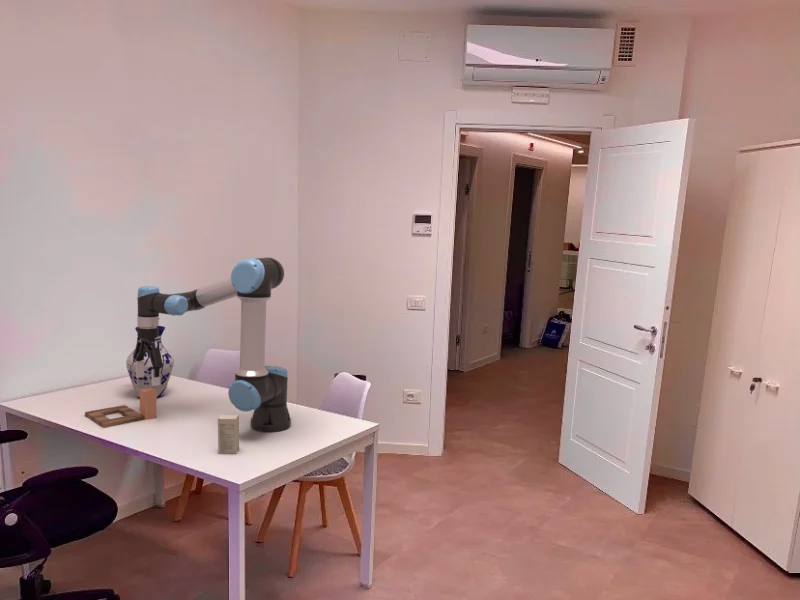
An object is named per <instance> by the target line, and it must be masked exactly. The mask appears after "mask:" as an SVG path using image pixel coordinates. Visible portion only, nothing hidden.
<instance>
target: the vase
mask: <svg viewBox="0 0 800 600" xmlns="http://www.w3.org/2000/svg"><path fill="white" fill-rule="evenodd" d="M157 327H158V328H159V336H158V337H157V338H155V342H159V348H160V353H161V358H162V363H163V368H160V385H155V386H152V369H151V368H152V367H153V366H152V363H151V360H150V357H149V354H148V353H147V352H146V354H145V356H144V359H145V360H142V361H144V377H141V378H136V360H135V358H134V357H133V356H134V352H135V348H134V349H133V350H132V351H131V353H130V354H129V355H128V356H127V358H126V368H127V374H128V376H129V379H130V381H131V384H132V387H133V390H134V393H135V395H136V398H138V399H140V389H146V388H153V389H155V390H157V399H160V398H162V397H164V396H165V393H166V390H167V387H168V383H169V380H170V378H171V375H172V372H173V368H174V365H175V359H174V356H173V354H172V353H171V352H170V351H169V350H168V349H167V348H166V347H165V346H164V344H163V342H162V335H163V333H164V331H165V330H166V326H163V325H159V326H157ZM137 328H138V326H136V327H135V328H134V330H135V331H136V332H137Z"/></svg>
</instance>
